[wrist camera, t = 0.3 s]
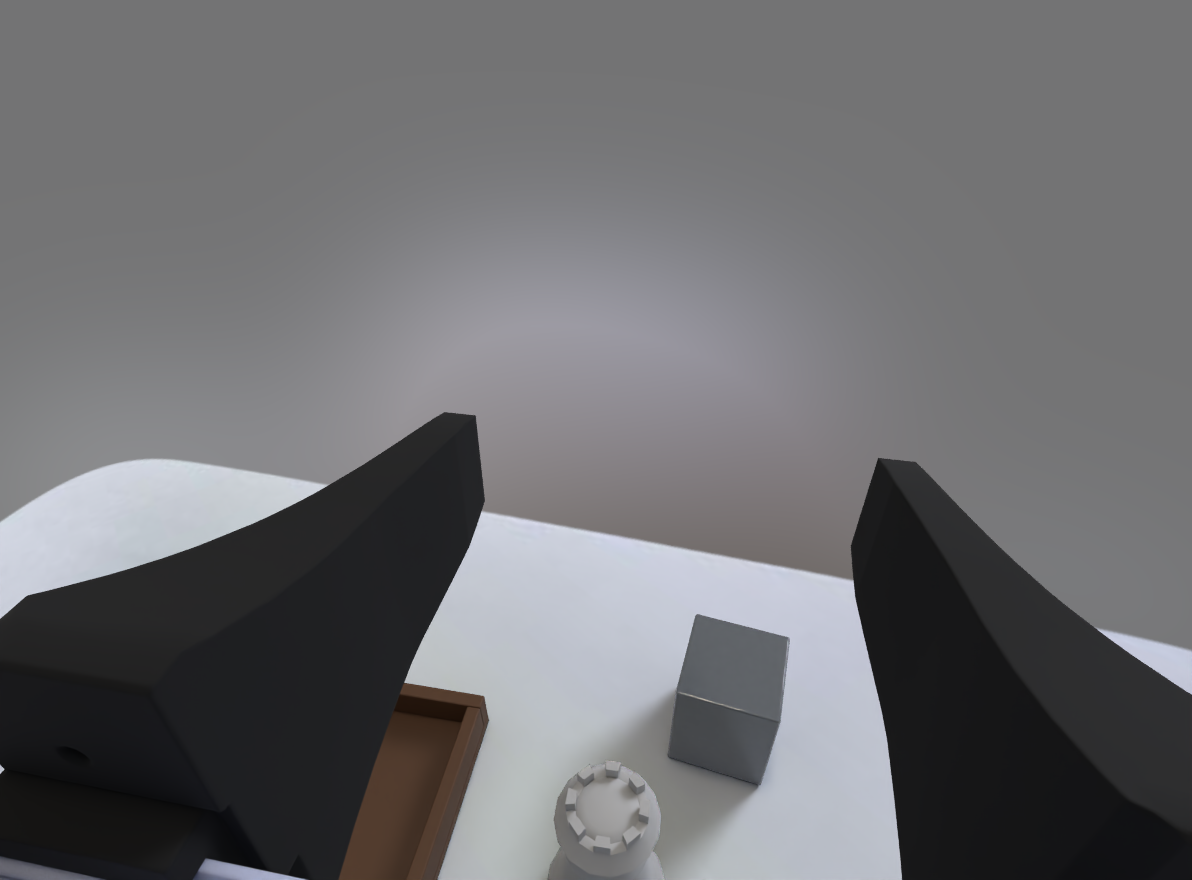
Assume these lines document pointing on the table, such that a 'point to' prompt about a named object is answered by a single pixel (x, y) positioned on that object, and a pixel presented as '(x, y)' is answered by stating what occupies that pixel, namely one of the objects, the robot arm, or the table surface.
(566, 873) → the rook chess piece
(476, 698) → the walnut tray
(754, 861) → the table surface
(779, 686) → the grey block
